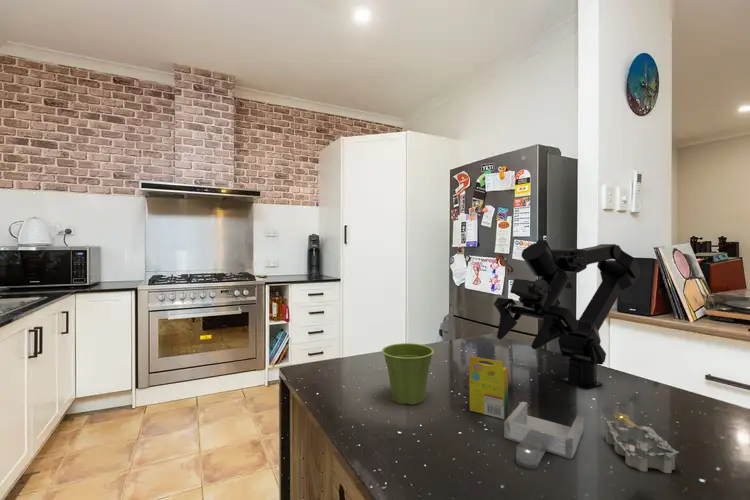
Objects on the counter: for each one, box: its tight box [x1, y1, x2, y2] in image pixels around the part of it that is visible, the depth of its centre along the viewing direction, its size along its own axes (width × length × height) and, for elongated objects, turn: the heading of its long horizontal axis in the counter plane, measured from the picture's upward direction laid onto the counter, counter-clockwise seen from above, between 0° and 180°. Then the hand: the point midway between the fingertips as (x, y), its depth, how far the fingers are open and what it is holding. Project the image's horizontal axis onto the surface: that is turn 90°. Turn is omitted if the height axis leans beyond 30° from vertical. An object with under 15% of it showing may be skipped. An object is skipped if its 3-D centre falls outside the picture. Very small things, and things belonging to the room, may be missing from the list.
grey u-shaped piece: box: [503, 401, 584, 470], centre depth 65 cm, size 18×11×3 cm, turn 142°
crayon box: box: [468, 355, 509, 420], centre depth 77 cm, size 7×3×12 cm, turn 54°
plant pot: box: [381, 342, 435, 406], centre depth 84 cm, size 12×12×11 cm
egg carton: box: [602, 416, 680, 474], centre depth 62 cm, size 11×8×4 cm
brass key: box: [614, 412, 638, 426], centre depth 72 cm, size 7×2×1 cm, turn 174°
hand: (514, 343), depth 81 cm, fingers open, 9 cm apart
